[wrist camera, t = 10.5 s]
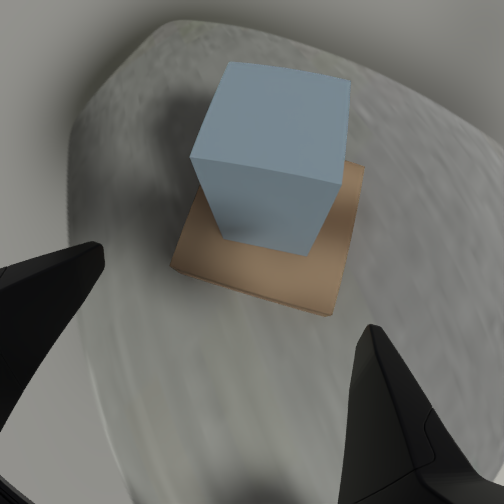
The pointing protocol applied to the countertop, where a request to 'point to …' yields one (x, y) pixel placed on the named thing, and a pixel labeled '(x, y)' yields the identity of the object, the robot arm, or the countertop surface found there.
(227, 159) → the slate block
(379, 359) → the robot arm
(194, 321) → the countertop surface
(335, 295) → the walnut block
